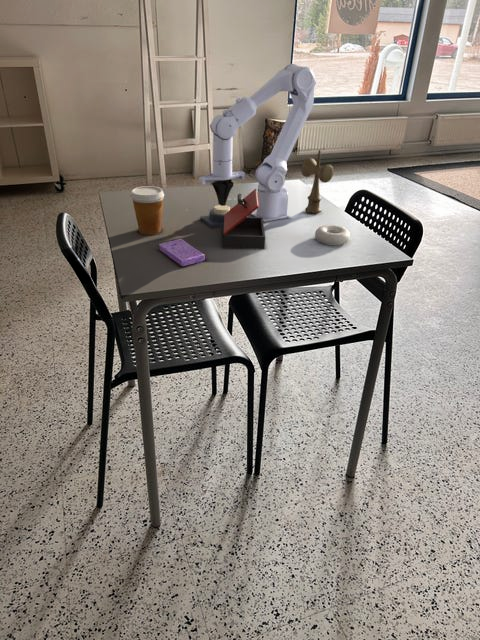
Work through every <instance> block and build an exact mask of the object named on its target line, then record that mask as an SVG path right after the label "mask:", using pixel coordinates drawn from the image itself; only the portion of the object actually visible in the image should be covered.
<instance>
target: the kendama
mask: <svg viewBox="0 0 480 640" xmlns="http://www.w3.org/2000/svg"><path fill="white" fill-rule="evenodd" d="M321 152H322V151H321V150H320V149H319V150H318V152H317V157H316V158H317V159H316V160H315V158H313V157H308V158H306V159H304V160H303V161H302V164H301V168H300V171H301V175H302V176H303V177H305V178H306V177H307V178H309V177H312V176H313V175H314V178H313V183H312V186H311V191H310V194H309V195H308V196H307V197H306V198H307V200H308V201H307V202H308V203H307V206H306V207H305V208H304V210H305V212H306V213H308V214H320V213H321V212H322V209H321V207H320V202H321V200H322V197H321V195H320V182H322V183H328V182H330V181H331V180H332V179H333V176H334V166H333V165H332V164H325V165H323V166H321Z"/></svg>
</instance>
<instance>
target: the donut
mask: <svg viewBox="0 0 480 640" xmlns="http://www.w3.org/2000/svg"><path fill="white" fill-rule="evenodd" d="M314 235H315V238H316V240H317V241H318V242H319V243H322V244H323V245H327V246H343V245H345V244H347V243H348V242H349V241H350V239H351V232H350V231H349V230H348V229H347V228H346V227H343V226H342V225H341V226H340V225H335V224H326V225H322V226H319V227H318V228H316V230H315V234H314Z"/></svg>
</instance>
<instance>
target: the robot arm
mask: <svg viewBox="0 0 480 640" xmlns="http://www.w3.org/2000/svg"><path fill="white" fill-rule="evenodd" d="M316 85H317V78H316V76H315V73H314V71H313V70H312V69H311V68H310V67H308V66H302V65H298V64H295V63H290V64H287V65H286V66H284V68H282V69H280V70H278V71H277V72H276V73H275V75H274V76H273V77H271V78H270V79H269V80H268V81H267V82H266V83H265V84H263V85H262V86H261V87H260V88H259V89H258V90H257V91H256V92H254V93H253V94H252V95H251V96H250V97H246V96H243V97H237V98H236V99H235V103H233V104H232V105H231V106H230V107H228V108H227V109H223V110H222V114H217V115H215V116H214V117H213V118H212V121H211V122H210V124H209V128H210V131H211V133H212V173H209V174H205V175H201V176H198V183H199V184H200V185H202V186H204V185H206V184H211V185H212V187H213V190H214V191H215V194H216V197H217V203H218V205H221V206H225V205H227V201H228V197H229V194H230V193H231V191H232V188H233V187H234V182H233V181H235V180H236V181H237V180H245V178H246V172H244V171H242V170H241V171H233V153H234V152H233V150H234V149H233V147H234V146H233V145H234V144H233V143H234V142H233V140H234V139H233V138H234V136H235V135H236V133H237V130H238V129H239V128H240V127H242V126H243V125H244V124H246V123H247V122H248V121H250V119H252V118H253V117H254V116H256V113H257V108H259V107H260V106H262V105H263V104H265V103H266V102H267V101H269V100H270V99H271V98H273V97H274V96H276V95H277V94H279V93H280V92H289V95H290V98H291V100H292V106H291V108H290V111H289V113H288V115H287V117H286V119H285V122H284V123H283V125H282V128H281V130H280V133H279V134H278V137H277V139H276V141H275V144H274V146H273V148H272V150H271V152H270V154H269V155H267V156H266V157H265V158H264V159H263V161H262V163H261V164H260V165H259V166H258V167H257V168H256V169H255V174H254V175H255V176H254V177H255V180H256V181H257V183H258V185H257V197H258V205H259V208H257V209H256V211H254V212H253V213H251V214H250V216H252V217H263V223H265V222H266V223H267V222H271V221H276V220H282V219H287V218H289V215H288V206H289V192H288V191H287V189H286V188H285V187H284V186H285V182H286V174H287V173H288V166H287V162H288V160H289V157H290V155H291V153H292V151H293V149H294V147H295V145H296V143H297V141H298V139H299V136H300V134H301V132H302V130H303V127H304V126H305V124H306V122H307V119H308V118H309V116H310V114H311V111H312V110H313V109H312V108H313V107H314V103H315V102H314V101H315V87H316Z"/></svg>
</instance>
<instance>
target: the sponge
mask: <svg viewBox="0 0 480 640" xmlns="http://www.w3.org/2000/svg"><path fill="white" fill-rule="evenodd" d="M158 246H159V251H160V252H162V253H163V254H165V255H166V256H167V257H169V258H170V259H171V260H173V261H174V262H176V263H177V264H178V265H180V266H182V267H185V266H186V267H187V266H189V265H193V264H197V263H201V262H203V261H205V260H206V256H205V254H204V253H203V252H201V251H200V250H198V249H196V248H195V247H193V246H192V245H190V243H188V242H187V241H185V240H184V239H182V238H178V239H173V240H170V241H167V242H161V243H158Z"/></svg>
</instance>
